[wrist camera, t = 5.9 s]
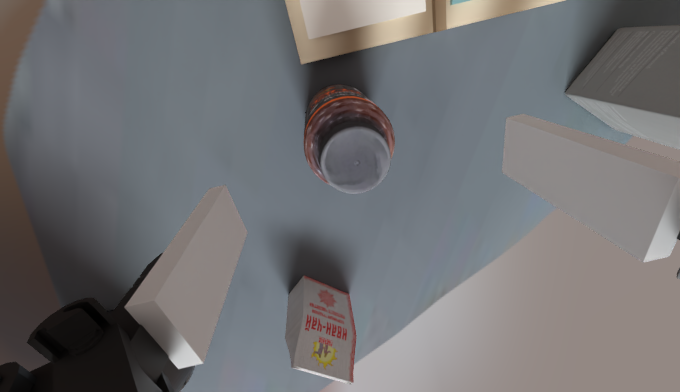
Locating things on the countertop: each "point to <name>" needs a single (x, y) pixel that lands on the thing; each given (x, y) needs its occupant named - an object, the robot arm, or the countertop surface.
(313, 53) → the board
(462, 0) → the teal pad
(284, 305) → the countertop surface
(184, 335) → the robot arm
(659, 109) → the skincare box
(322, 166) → the supplement bottle
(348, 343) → the white product box
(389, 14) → the cream pad
